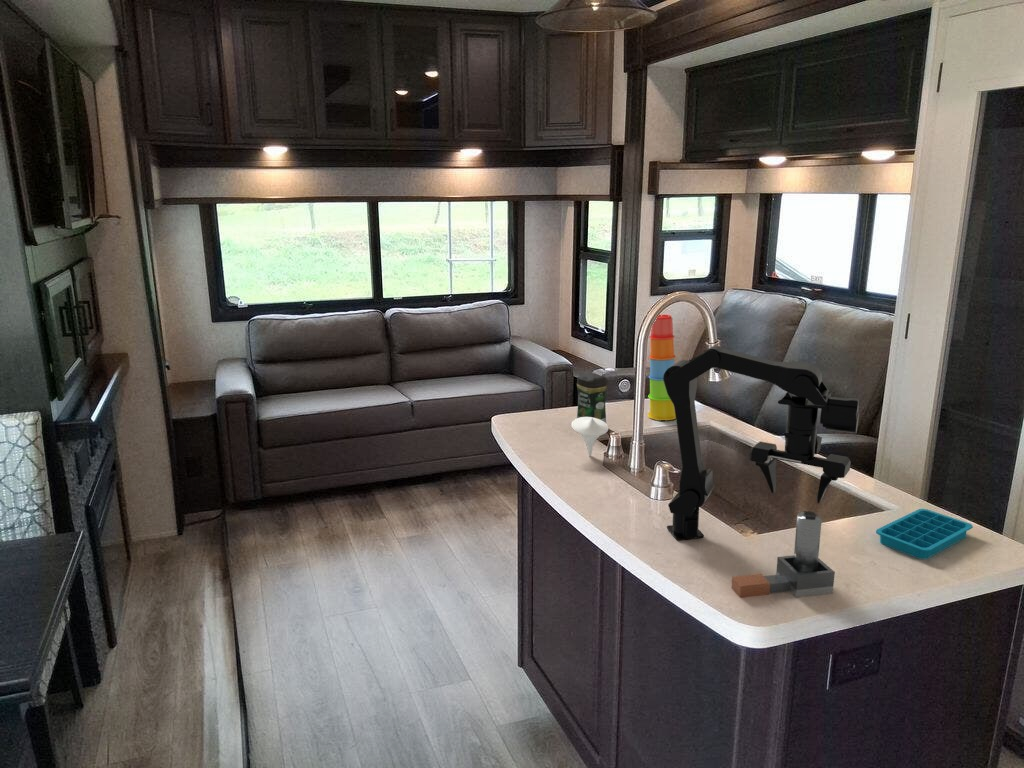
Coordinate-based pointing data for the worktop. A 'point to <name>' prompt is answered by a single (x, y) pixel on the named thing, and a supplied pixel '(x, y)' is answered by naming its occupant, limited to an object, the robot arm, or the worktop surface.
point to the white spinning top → (589, 430)
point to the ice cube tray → (923, 533)
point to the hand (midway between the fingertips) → (795, 497)
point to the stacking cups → (661, 368)
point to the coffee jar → (591, 396)
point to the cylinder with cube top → (807, 542)
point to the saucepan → (786, 581)
